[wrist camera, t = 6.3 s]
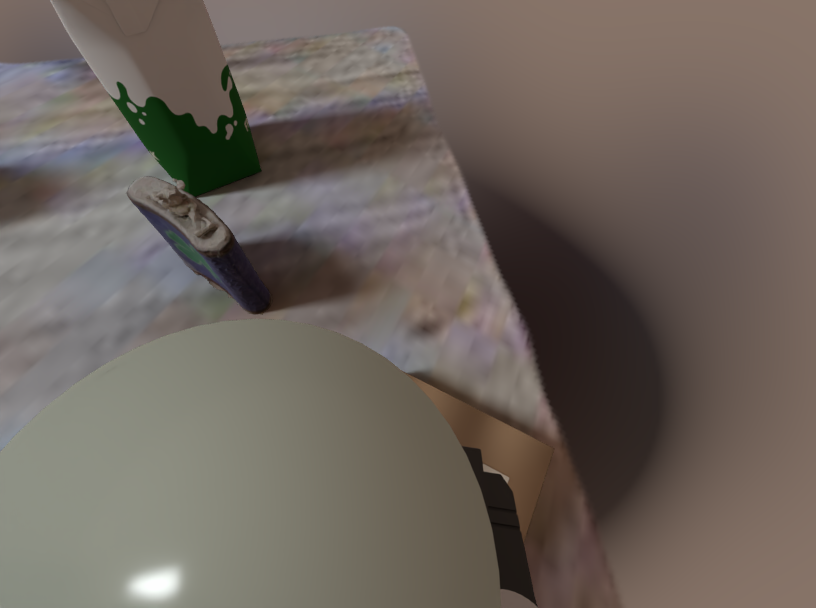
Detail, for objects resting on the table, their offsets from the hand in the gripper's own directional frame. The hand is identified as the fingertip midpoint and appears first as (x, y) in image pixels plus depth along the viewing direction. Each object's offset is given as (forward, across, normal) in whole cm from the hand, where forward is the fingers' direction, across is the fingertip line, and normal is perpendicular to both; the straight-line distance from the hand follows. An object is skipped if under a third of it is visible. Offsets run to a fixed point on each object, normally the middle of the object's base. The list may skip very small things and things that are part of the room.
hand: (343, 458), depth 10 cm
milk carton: (+32, +22, -6) cm, 39 cm away
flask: (+23, +16, +3) cm, 28 cm away
